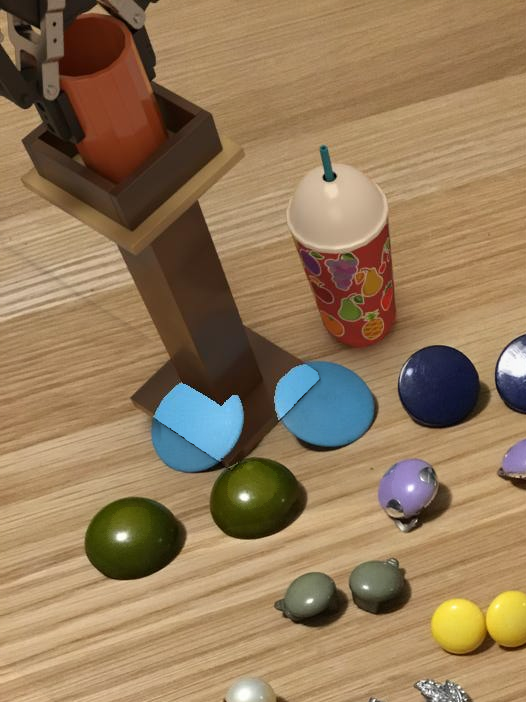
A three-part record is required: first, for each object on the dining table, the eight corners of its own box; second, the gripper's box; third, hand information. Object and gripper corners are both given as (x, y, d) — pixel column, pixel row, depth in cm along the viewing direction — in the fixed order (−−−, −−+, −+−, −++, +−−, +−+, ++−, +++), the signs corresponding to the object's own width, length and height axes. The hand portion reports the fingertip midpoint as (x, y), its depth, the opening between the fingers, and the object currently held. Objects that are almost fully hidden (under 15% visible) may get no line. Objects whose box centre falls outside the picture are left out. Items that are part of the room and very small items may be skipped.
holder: (134, 405, 101) (-11, 144, 75) (223, 318, 105) (116, 40, 78) (231, 471, 98) (116, 221, 71) (320, 379, 101) (242, 109, 75)
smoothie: (399, 280, 105) (369, 100, 87) (412, 350, 102) (385, 178, 84) (311, 296, 105) (263, 118, 87) (322, 366, 102) (274, 197, 83)
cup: (70, 171, 77) (14, 55, 69) (131, 118, 79) (83, 0, 71) (132, 207, 76) (82, 94, 67) (192, 153, 77) (151, 36, 69)
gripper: (43, -259, 61) (143, 21, 76) (-161, -118, 57) (-12, 150, 72) (140, -215, 59) (223, 64, 74) (-64, -65, 55) (68, 199, 70)
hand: (107, 105), depth 73 cm, fingers closed on cup, 6 cm apart
